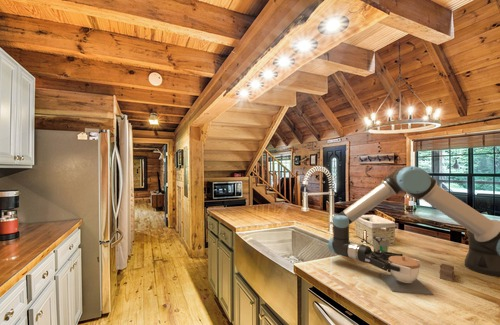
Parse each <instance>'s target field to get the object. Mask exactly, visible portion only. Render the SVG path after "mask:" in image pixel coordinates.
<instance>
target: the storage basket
mask: <svg viewBox="0 0 500 325" xmlns="http://www.w3.org/2000/svg"><path fill="white" fill-rule="evenodd" d="M353 223H354V227H355V229H354V230H355V235H356V236H357V237H358V238H360V239H361V240H363V230H366V231H367V236H368V237H367V242H366V243H367V244H369V245H372V246H373V235H374V236H381V237H385V238H387V239H388V241H389V245H388V246H394V245H395V237H396V233H395V232H396V227H397V225H396V223H395V222H394V221H393V220H390V219H388V218H384V217H381V216H379V215H377V214H376V215H375V214H364V215H362V216H361V217H359V218H358V219H356V220H355V221H354V222H353Z"/></svg>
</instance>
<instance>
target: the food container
mask: <svg viewBox="0 0 500 325" xmlns="http://www.w3.org/2000/svg"><path fill="white" fill-rule="evenodd" d="M372 246H373V251H378V250H381V251H385V252H389V251H388V249H389V246H390V245H389V241H388V239H387V238H385V237H381V236H374V235H373V245H372Z"/></svg>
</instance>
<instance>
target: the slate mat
mask: <svg viewBox="0 0 500 325" xmlns="http://www.w3.org/2000/svg"><path fill="white" fill-rule="evenodd" d="M379 276H380V277H381V279H382V280H383V282H384V283H385V284H386V285H387V287H388V288H389V289H390V290H391V291H392V292H393V293H402V294H403V293H404V294H405V293H407V294H416V295H418V294H419V295H429V296H433V295H434V292H432V291H431V290H430V289H429V288H428V287H427V286H426V285H424V284H423V283H422V282H421V280H419V279H418V278H417V279H416V280H414V281H413V282H412V283H404V282H401V281H398V280H397V279H396V278H395V277H394V276H393V275H392V274H384V273H379Z"/></svg>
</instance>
